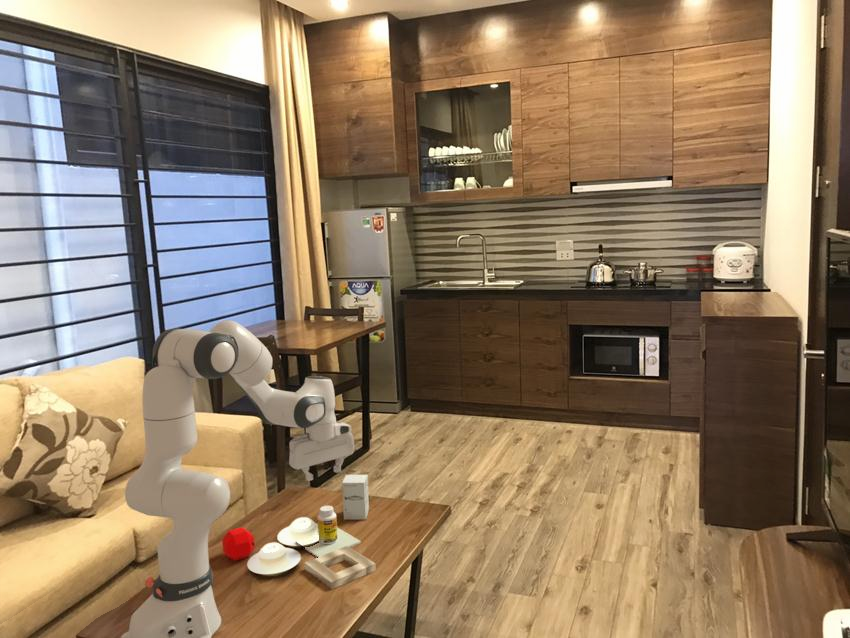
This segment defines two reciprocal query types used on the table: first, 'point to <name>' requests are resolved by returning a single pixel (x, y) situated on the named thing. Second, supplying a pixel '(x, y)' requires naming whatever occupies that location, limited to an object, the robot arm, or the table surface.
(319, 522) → the supplement bottle
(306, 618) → the table surface
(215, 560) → the table surface
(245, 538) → the ball
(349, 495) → the supplement box
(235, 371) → the robot arm
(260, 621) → the table surface
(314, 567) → the birch caddy
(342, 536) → the sage tile
